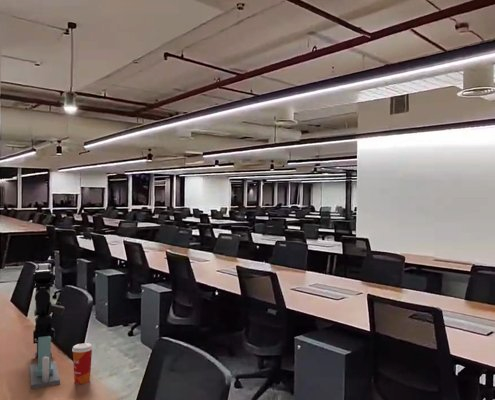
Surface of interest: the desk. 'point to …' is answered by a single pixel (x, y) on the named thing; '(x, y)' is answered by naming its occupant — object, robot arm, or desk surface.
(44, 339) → the teal upright block
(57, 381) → the track
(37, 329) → the robot arm
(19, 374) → the desk surface
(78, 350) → the paper cup
